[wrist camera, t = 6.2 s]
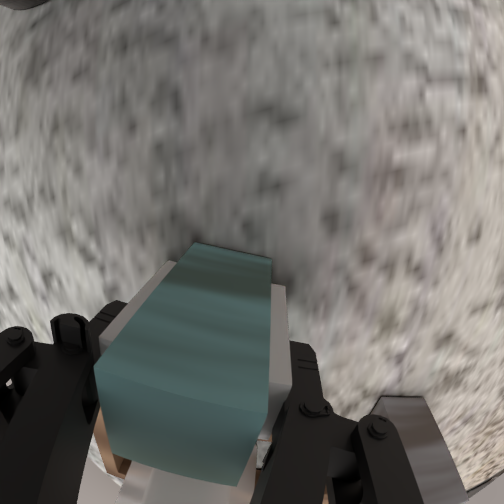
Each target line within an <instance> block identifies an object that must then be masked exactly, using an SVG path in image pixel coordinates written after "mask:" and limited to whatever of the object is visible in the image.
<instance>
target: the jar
mask: <svg viewBox="0 0 504 504" xmlns="http://www.w3.org/2000/svg"><path fill="white" fill-rule="evenodd" d="M256 462H257V446H256V444H255V446H254V448H253V451H252V453H251V455H250V458H249V460H248V462H247V465H246V467H245V469H244V471H243V474H242V476H241V478H240V480H239V482H238V485H237V487H234V486H228V485H222V484H217V483H212V482H207V481H202V480H198V479H193V478H189V477H185V476H181V475H177V474H173V473H170V472H166V471H163V470H159V469H156V468H153V467H150V466H147V465H143V464H140V463H138V462H135V461H132V462H131V465H130V467H129V470H128V472H127V474H126V477H125V479H124V482H123V484H122V487H121V489H120V492H119V494H118V497H117V499H116V501H115V504H250V501H251V498H252V495H253V493H254V487H255V475H256Z"/></svg>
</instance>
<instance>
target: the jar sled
mask: <svg viewBox="0 0 504 504" xmlns="http://www.w3.org/2000/svg"><path fill="white" fill-rule="evenodd" d="M271 274H272V259H270V258H265V257H260V256H256V255H251V254H247V253H242V252H237V251H233V250H228V249H224V248H219V247H214V246H210V245H205V244H201V243H196V242H194V244H193V245H192V246H191V247H190V248H189V249H188V250H187V252H186V253H185V254H184V255H183V256H182V257H181V259H180V260H179V261H178V262H177V263H176V264H175V266H174V267H173V268H172V269H171V270H170V271H169V273H168V274H167V275H166V276H165V277H164V279H163V280H162V281H161V282H160V283H159V285H158V286H157V287H156V288H155V289H154V291H153V292H152V293H151V294H150V295H149V297H148V298H147V299H146V300H145V302H144V303H143V304H142V305H141V306H140V308H139V309H138V310H137V311H136V313H135V314H134V315H133V316H132V318H131V319H130V320H129V321H128V323H127V324H126V325H125V326H124V328H123V329H122V330H121V331H120V333H119V334H118V335H117V337H116V338H115V339H114V340H113V342H112V343H111V344H110V345H109V347H108V348H107V349H106V351H105V352H104V353H103V355H102V356H101V357H100V359H99V360H98V361H97V362H96V364H95V365H94V366H93V367H94V373H95V380H96V385H97V391H98V396H99V401H100V410H99V413H98V417H97V420H96V424H95V427H94V431H93V433H94V436H95V439H96V442H97V445H98V448H99V451H100V454H101V457H102V460H103V463H104V466H105V468H106V471H107V473H109V474H111V475H114V476H116V477H119V478H122V479H125V477H126V474H127V472H128V470H129V467H130V465H131V462H132V461H135V462H138V463H140V464H143V465H147V466H150V467H153V468H156V469H159V470H163V471H166V472H170V473H173V474H177V475H181V476H185V477H189V478H193V479H198V480H202V481H207V482H212V483H217V484H222V485H228V486H234V487H237V485H238V482H239V480H240V478H241V476H242V474H243V471H244V469H245V467H246V465H247V462H248V460H249V458H250V455H251V453H252V451H253V448H254V446H255V444H256V441H257V440H261V441H268V442H272V433H271V436H270V438H269V440H262V439H258V436H259V434H260V432H261V429H262V427H263V424H264V422H265V419H266V417H267V414H268V394H269V364H270V326H271ZM260 473H261V470H256V475H255V487H256V484H257V481H258V479H259V476H260ZM255 487H254V490H255Z"/></svg>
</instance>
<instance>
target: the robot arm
mask: <svg viewBox="0 0 504 504" xmlns="http://www.w3.org/2000/svg"><path fill="white" fill-rule="evenodd" d="M45 1H47V0H0V5H3V6H6V7H8V8H11V9H14V10H23V9H28V8H31V7H34V6H36V5H39V4H41V3H43V2H45ZM176 263H177V262H173V261H169V260H168V261H167V262H166V263H165V264H164V265H163V266H162V267H161V268H160V269H159V270H158V271H157V273H156V274H155V275H154V276H153V277H152V278H151V279H150V280H149V281H148V282H147V283H146V284H145V285H144V287H143V288H142V289H141V290H140V291H139V292H138V293H137V294H136V295H135V296H134V298H133V299H132V300H131V301H130V302H129V303H125V302H121V301H118V300H116V301H114V302H111V303H109V304H107V305H106V306H105V307H104V308H103V309H102V310H101V311H100V313H98V314H97V315H96V316H95V317H94V318H93V319H92V320H91V321H90V322H88V320H87V319H86V318H84V317H83V316H80V315H78V314H71V313H67V314H61V315H58V316H56V317H54V318H53V319H52V320H51V321H50V323H51V329H52V335H53V341H54V344H46V343H40V342H34V339H33V335H32V333H31V331H30V330H28V329H27V328H24V327H19V326H15V327H10V328H8V329H6V330H4V331H2V332H1V333H0V504H77V499H78V493H79V489H80V484H81V479H82V475H83V471H84V466H85V462H86V458H87V454H88V450H89V446H90V442H91V438H92V435H93V431H94V427H95V424H96V420H97V417H98V413H99V410H100V401H99V396H98V391H97V385H96V380H95V373H94V367H93V366H94V365H95V364H96V362H97V361H98V360H99V359H100V357H101V356H102V355H103V353H104V352H105V351H106V349H107V348H108V347H109V345H110V344H111V343H112V342H113V340H114V339H115V338H116V337H117V335H118V334H119V333H120V331H121V330H122V329H123V328H124V326H125V325H126V324H127V323H128V321H129V320H130V319H131V318H132V316H133V315H134V314H135V313H136V311H137V310H138V309H139V308H140V306H141V305H142V304H143V303H144V302H145V300H146V299H147V298H148V297H149V295H150V294H151V293H152V292H153V291H154V289H155V288H156V287H157V286H158V285H159V283H160V282H161V281H162V280H163V279H164V277H165V276H166V275H167V274H168V273H169V271H170V270H171V269H172V268H173V267H174V266H175V264H176ZM9 379H11V380H12V384H11V385H9V386H6V383H7V382H8V381H9ZM271 433H272V443H271V445H270V447H269V449H268V451H267V453H266V455H265V457H264V459H263V461H262V462H264V464H263V467H262V470H261V473H260V476H259V479H258V481H257V484H256V487H255V490H254V493H253V495H252V498H251V501H250V504H323V498H324V492H325V485H326V488H327V495H328V502H329V504H424V502H423V499H422V496H421V493H420V490H419V487H418V484H417V481H416V479H415V476H414V473H413V470H412V468H411V465H410V462H409V459H408V457H407V454H406V452H405V449H404V446H403V444H402V441H401V439H400V436H399V433H398V431H397V429H396V427H395V425H394V424H393V423H392V422H391V421H390V420H389V419H387V418H385V417H383V416H381V415H375V414H371V415H366V416H364V417H363V418H361V419H360V421H359V422H356V421H353V420H350V419H347V418H344V417H341V416H339V415H337V414H335V413H334V412H333V408H332V406H331V405H330V403H329V402H328V401H326V400H325V399H324V398H323V393H322V387H321V381H320V375H319V371H318V364H317V359H316V353H315V352H314V350H313V349H312V348H311V346H310V345H309V344H306V343H300V342H294V341H289V329H288V316H287V303H286V291H285V286H281V285H277V284H272V283H271V326H270V364H269V394H268V414H267V417H266V419H265V422H264V424H263V427H262V429H261V432H260V434H259V436H258V439H262V440H269V438H270V436H271Z"/></svg>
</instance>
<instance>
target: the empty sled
mask: <svg viewBox="0 0 504 504" xmlns="http://www.w3.org/2000/svg"><path fill="white" fill-rule="evenodd" d="M371 414H375V415H381V416H383V417H385V418H387V419H389V420H390V421H391V422H392V423H393V424H394V425H395V427H396V429H397V431H398V433H399V436H400V439H401V441H402V444H403V446H404V449H405V452H406V454H407V457H408V459H409V462H410V465H411V468H412V470H413V473H414V476H415V479H416V481H417V484H418V487H419V490H420V493H421V496H422V499H423V502H424V504H465V503H466V502H467V501H469V498H468V496H467V493H466V490H465V488H464V485H463V483H462V480H461V478H460V475H459V473H458V470H457V468H456V466H455V463H454V461H453V459H452V456H451V454H450V452H449V449H448V447H447V445H446V443H445V441H444V438H443V436H442V434H441V432H440V430H439V428H438V425H437V423H436V421H435V419H434V417H433V415H432V413H431V411H430V409H429V407H428V405H427V403H426V401H425V399H424V398H402V397H381V398H380V400H379V401H378V403H377V405H376V406H375V408H374V409H373V411H372V412H371ZM371 414H370V415H371ZM323 504H329V502H328V495H327V488H326V485H325V492H324V498H323Z"/></svg>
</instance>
